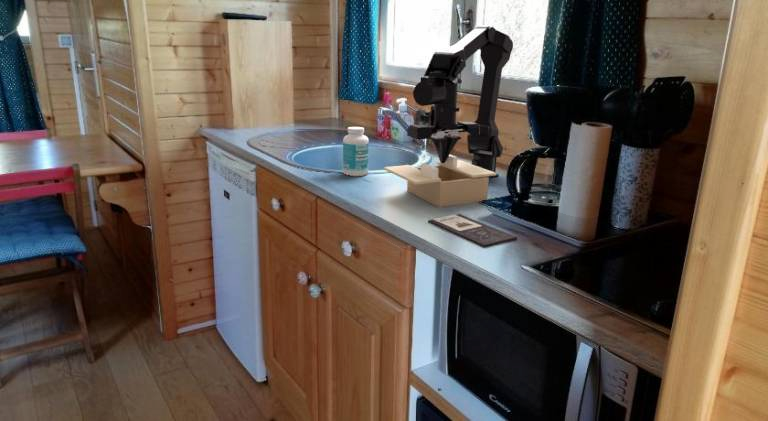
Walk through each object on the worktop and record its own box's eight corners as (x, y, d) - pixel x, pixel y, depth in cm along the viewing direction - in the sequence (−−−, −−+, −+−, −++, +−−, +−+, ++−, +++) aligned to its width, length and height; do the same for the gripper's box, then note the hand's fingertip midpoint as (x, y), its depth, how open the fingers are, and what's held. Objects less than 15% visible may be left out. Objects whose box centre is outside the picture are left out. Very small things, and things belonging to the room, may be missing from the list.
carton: (451, 185, 158) (453, 163, 156) (487, 200, 145) (488, 177, 143) (407, 190, 152) (407, 168, 150) (439, 206, 139) (440, 182, 137)
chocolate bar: (484, 245, 113) (428, 220, 127) (484, 249, 113) (428, 224, 128) (517, 236, 118) (459, 213, 132) (516, 241, 118) (459, 217, 132)
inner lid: (459, 162, 157) (459, 150, 156) (495, 175, 144) (496, 163, 143) (437, 164, 154) (437, 152, 153) (472, 178, 140) (473, 165, 140)
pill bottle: (358, 178, 164) (358, 130, 160) (337, 174, 168) (337, 128, 163) (373, 173, 170) (373, 127, 166) (352, 169, 174) (352, 124, 169)
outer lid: (408, 167, 150) (408, 155, 149) (441, 181, 137) (441, 168, 136) (384, 169, 147) (384, 157, 146) (415, 184, 134) (416, 171, 133)
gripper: (458, 97, 157) (455, 154, 161) (397, 100, 149) (396, 159, 153) (482, 102, 147) (478, 162, 152) (419, 105, 139) (417, 168, 144)
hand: (442, 162), depth 151 cm, fingers closed
